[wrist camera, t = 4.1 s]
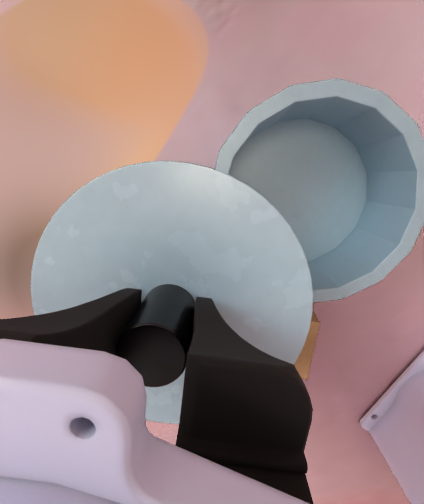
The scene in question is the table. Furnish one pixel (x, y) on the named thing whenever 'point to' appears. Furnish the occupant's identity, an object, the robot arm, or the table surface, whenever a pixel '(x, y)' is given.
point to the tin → (336, 178)
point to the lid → (176, 266)
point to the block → (308, 349)
